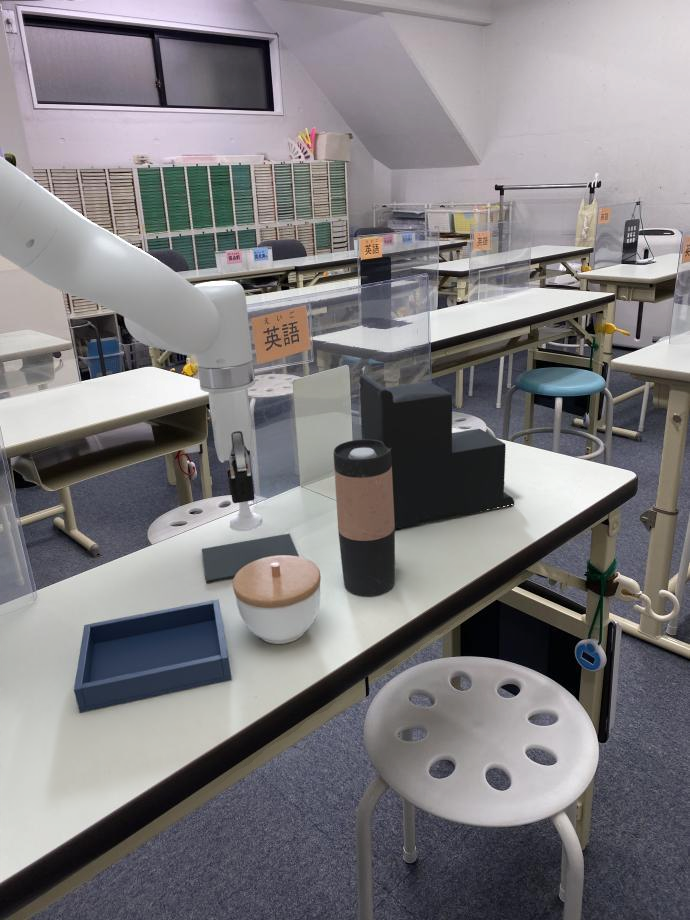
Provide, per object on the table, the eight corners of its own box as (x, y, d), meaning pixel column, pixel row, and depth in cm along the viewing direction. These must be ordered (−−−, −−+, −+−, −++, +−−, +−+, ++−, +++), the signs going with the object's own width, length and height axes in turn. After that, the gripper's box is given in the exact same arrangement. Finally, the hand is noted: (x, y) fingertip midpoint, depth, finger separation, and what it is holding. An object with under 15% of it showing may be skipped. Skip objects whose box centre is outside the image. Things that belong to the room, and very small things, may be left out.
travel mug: (333, 593, 94) (323, 457, 86) (353, 565, 100) (345, 437, 93) (386, 601, 91) (380, 462, 84) (403, 572, 97) (399, 441, 90)
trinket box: (291, 596, 94) (285, 535, 90) (342, 629, 86) (337, 563, 82) (223, 629, 87) (214, 565, 84) (271, 668, 80) (263, 599, 76)
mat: (206, 583, 98) (206, 580, 98) (201, 551, 107) (201, 548, 107) (302, 565, 101) (301, 562, 101) (289, 536, 110) (289, 533, 110)
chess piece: (250, 514, 105) (242, 452, 101) (269, 523, 102) (262, 460, 98) (223, 525, 102) (214, 462, 98) (242, 534, 98) (233, 470, 95)
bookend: (484, 483, 124) (486, 356, 116) (515, 506, 115) (520, 370, 106) (363, 507, 118) (355, 374, 110) (385, 533, 109) (379, 391, 100)
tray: (79, 713, 74) (73, 690, 73) (89, 645, 86) (84, 624, 85) (231, 679, 78) (228, 657, 77) (221, 619, 89) (218, 598, 88)
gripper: (195, 365, 100) (212, 481, 107) (202, 393, 86) (221, 524, 92) (246, 359, 102) (260, 474, 108) (262, 385, 87) (276, 515, 94)
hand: (242, 496), depth 100 cm, fingers closed on chess piece
